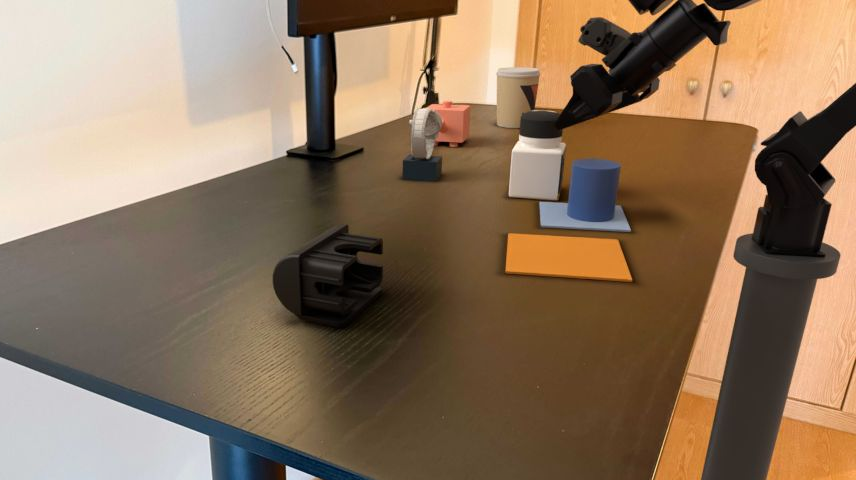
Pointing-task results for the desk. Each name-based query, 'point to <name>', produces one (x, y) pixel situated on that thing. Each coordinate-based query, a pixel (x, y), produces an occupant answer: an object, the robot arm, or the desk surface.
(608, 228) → the blue mat
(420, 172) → the watch
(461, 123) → the pink cube teapot
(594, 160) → the blue cylinder
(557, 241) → the amber mat
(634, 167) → the desk surface
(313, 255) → the end cap
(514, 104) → the coffee cup
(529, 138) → the medicine bottle
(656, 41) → the robot arm
